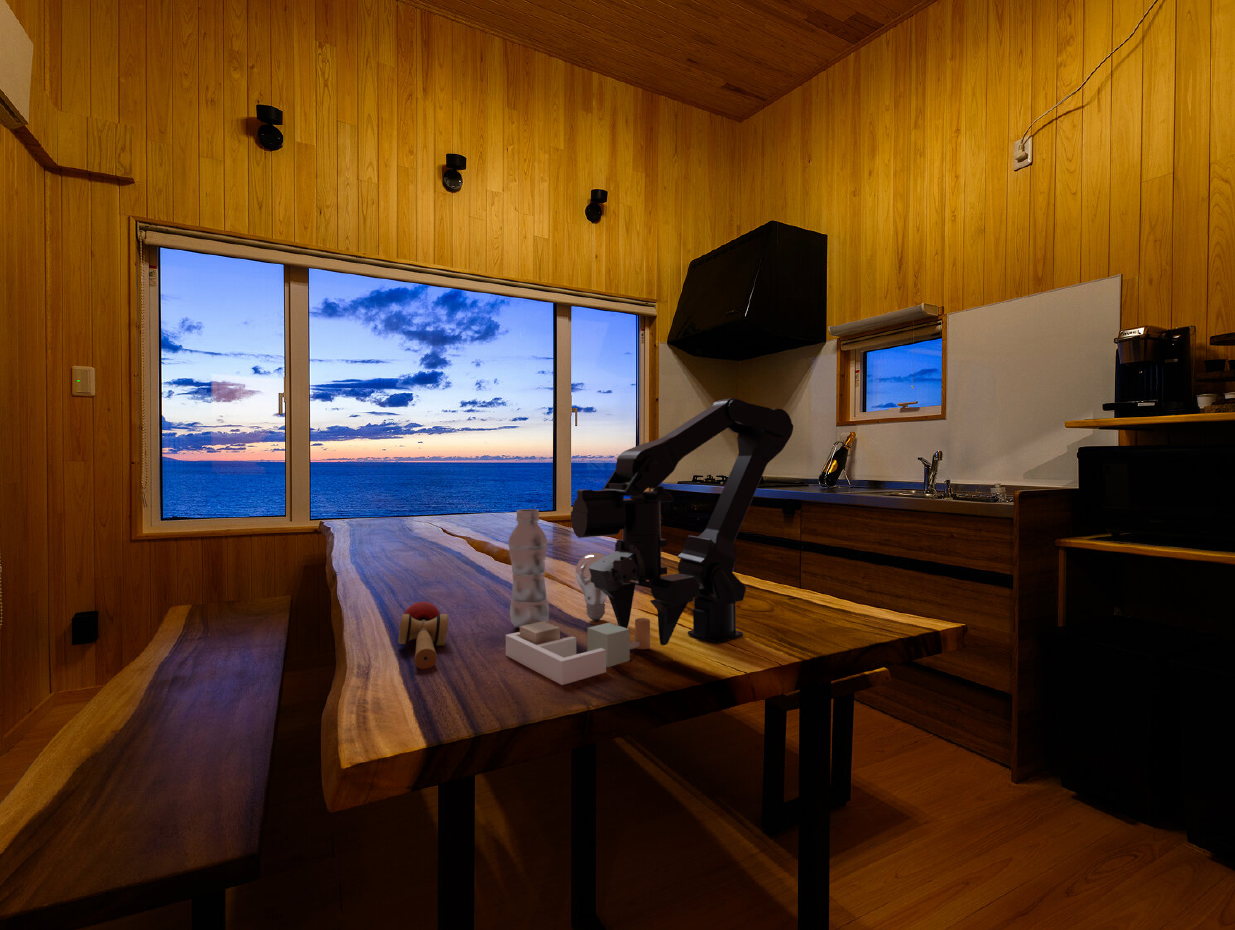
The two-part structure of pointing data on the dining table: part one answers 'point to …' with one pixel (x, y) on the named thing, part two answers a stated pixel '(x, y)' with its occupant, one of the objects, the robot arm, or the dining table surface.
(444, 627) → the kendama
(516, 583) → the plastic bottle
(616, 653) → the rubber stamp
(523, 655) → the lane rack
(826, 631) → the dining table surface
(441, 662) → the dining table surface
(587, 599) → the light bulb
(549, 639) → the ash block
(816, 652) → the dining table surface
